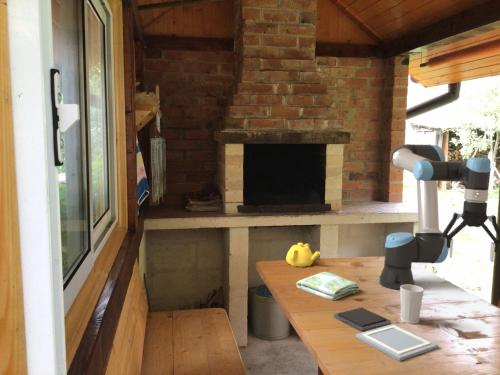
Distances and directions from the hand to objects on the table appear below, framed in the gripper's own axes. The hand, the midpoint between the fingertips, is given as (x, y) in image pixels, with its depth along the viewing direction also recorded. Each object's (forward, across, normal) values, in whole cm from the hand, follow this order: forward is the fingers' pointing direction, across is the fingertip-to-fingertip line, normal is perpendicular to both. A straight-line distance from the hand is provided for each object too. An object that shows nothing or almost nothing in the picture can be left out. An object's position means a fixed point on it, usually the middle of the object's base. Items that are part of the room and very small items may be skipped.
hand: (470, 258), depth 162 cm
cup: (+23, -20, -9) cm, 32 cm away
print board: (+23, -24, -30) cm, 45 cm away
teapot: (+23, -70, +47) cm, 88 cm away
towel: (+23, -53, +12) cm, 59 cm away
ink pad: (+23, -36, -16) cm, 46 cm away
